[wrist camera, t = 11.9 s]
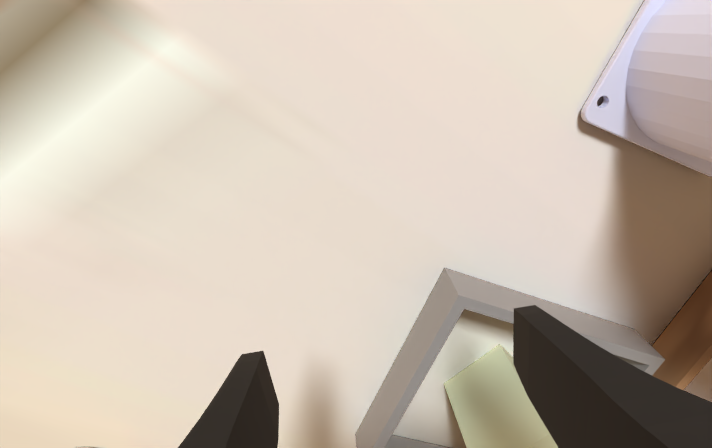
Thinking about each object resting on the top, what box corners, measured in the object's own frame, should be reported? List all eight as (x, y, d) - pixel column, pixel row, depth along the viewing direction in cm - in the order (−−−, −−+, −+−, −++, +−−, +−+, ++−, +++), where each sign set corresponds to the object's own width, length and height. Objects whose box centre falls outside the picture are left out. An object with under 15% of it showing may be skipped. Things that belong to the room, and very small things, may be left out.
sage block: (536, 381, 27) (593, 474, 21) (482, 418, 27) (524, 516, 22) (499, 343, 25) (550, 433, 20) (443, 383, 26) (478, 479, 21)
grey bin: (444, 267, 23) (458, 295, 20) (634, 329, 25) (665, 359, 23) (355, 434, 27) (359, 472, 25) (525, 471, 30) (543, 509, 27)
